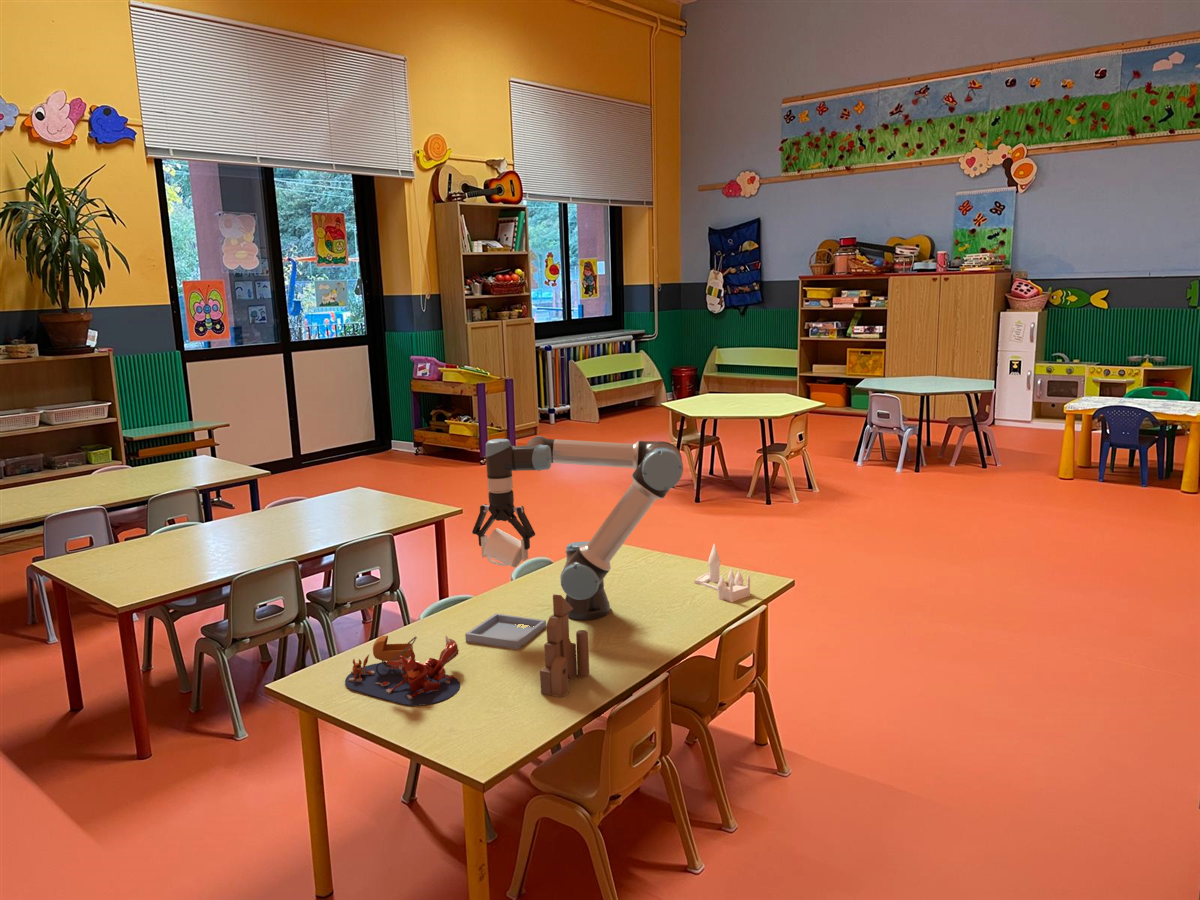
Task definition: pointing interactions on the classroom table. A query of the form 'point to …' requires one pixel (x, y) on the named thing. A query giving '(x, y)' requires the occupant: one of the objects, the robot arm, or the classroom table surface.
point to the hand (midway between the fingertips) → (505, 558)
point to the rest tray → (505, 631)
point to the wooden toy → (562, 652)
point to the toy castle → (723, 592)
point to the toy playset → (405, 674)
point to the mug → (503, 549)
